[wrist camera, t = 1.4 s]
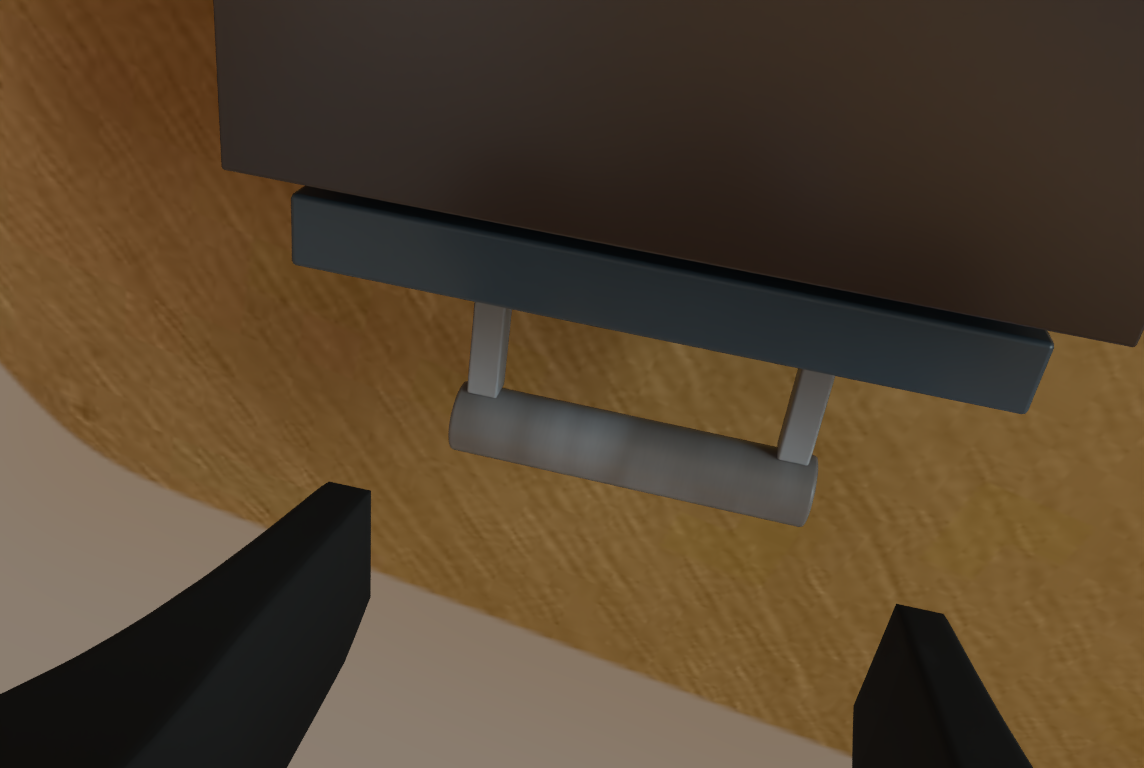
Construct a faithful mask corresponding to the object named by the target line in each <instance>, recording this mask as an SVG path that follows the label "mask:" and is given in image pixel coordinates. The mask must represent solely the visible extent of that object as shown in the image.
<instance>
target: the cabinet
mask: <svg viewBox="0 0 1144 768" xmlns="http://www.w3.org/2000/svg"><path fill="white" fill-rule="evenodd" d="M213 4H214V23H215V43H216V63H217V83H218V103H219V123H220V142H221V162H222V168H223V169H224V170H229V171H234V172H239V173H244V174H249V175H254V176H259V177H264V178H270V179H275V180H280V181H285V182H290V183H295V184H300V185H305V186H310V187H316V188H321V189H326V190H331V191H336V192H341V193H346V194H351V195H357V196H362V197H367V198H372V199H377V200H382V201H387V202H392V203H397V204H403V205H408V206H413V207H418V208H423V209H428V210H433V211H438V212H444V213H449V214H454V215H459V216H464V217H469V218H474V219H479V220H485V221H490V222H495V223H500V224H505V225H510V226H515V227H520V228H525V229H531V230H536V231H541V232H546V233H551V234H556V235H561V236H566V237H572V238H577V239H582V240H587V241H592V242H597V243H602V244H607V245H612V246H618V247H623V248H628V249H633V250H638V251H643V252H648V253H653V254H659V255H664V256H669V257H674V258H679V259H684V260H689V261H694V262H699V263H705V264H710V265H715V266H720V267H725V268H730V269H735V270H740V271H746V272H751V273H756V274H761V275H766V276H771V277H776V278H781V279H786V280H792V281H797V282H802V283H807V284H812V285H817V286H822V287H827V288H833V289H838V290H843V291H848V292H853V293H858V294H863V295H868V296H874V297H879V298H884V299H889V300H894V301H899V302H904V303H909V304H914V305H920V306H925V307H930V308H935V309H940V310H945V311H950V312H955V313H961V314H966V315H971V316H976V317H981V318H986V319H991V320H996V321H1001V322H1007V323H1012V324H1017V325H1022V326H1027V327H1032V328H1037V329H1042V330H1048V331H1053V332H1058V333H1063V334H1068V335H1073V336H1078V337H1083V338H1088V339H1094V340H1099V341H1104V342H1109V343H1114V344H1119V345H1124V346H1129V347H1135V346H1136V345H1137V343H1138V341H1139V339H1140V337H1141V334H1142V332H1143V330H1144V0H213Z"/></svg>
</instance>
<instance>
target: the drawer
mask: <svg viewBox="0 0 1144 768" xmlns="http://www.w3.org/2000/svg"><path fill="white" fill-rule="evenodd" d="M291 223H292V262H293V263H294V264H295V265H299V266H304V267H309V268H314V269H318V270H323V271H328V272H333V273H338V274H343V275H348V276H352V277H357V278H362V279H367V280H372V281H377V282H382V283H386V284H391V285H396V286H401V287H406V288H411V289H416V290H421V291H425V292H430V293H435V294H440V295H445V296H450V297H455V298H459V299H464V300H469V301H474V302H475V304H474V316H473V328H472V339H471V351H470V363H469V375H468V381H466V382H464V383H463V384H462V386H461V388H460V389H459V391H458V394H457V396H456V399H455V402H454V405H453V409H452V413H451V417H450V423H449V444H450V447H451V448H452V449H454V450H458V451H463V452H467V453H472V454H476V455H481V456H485V457H490V458H494V459H499V460H503V461H507V462H512V463H516V464H521V465H525V466H530V467H534V468H539V469H543V470H548V471H552V472H556V473H561V474H565V475H570V476H574V477H579V478H583V479H588V480H592V481H597V482H601V483H605V484H610V485H614V486H619V487H623V488H628V489H632V490H637V491H641V492H646V493H650V494H654V495H659V496H663V497H668V498H672V499H677V500H681V501H686V502H690V503H695V504H699V505H703V506H708V507H712V508H717V509H721V510H726V511H730V512H735V513H739V514H744V515H748V516H752V517H757V518H761V519H766V520H770V521H775V522H779V523H784V524H788V525H793V526H797V527H802V526H803V525H804V524H805V522H806V520H807V518H808V516H809V513H810V510H811V506H812V502H813V498H814V494H815V489H816V483H817V475H818V460H817V457H816V456H814V455H812V453H813V449H814V446H815V442H816V439H817V436H818V432H819V429H820V426H821V422H822V419H823V415H824V412H825V409H826V405H827V402H828V399H829V395H830V392H831V388H832V385H833V382H834V378H835V376H839V377H844V378H848V379H853V380H858V381H863V382H868V383H873V384H878V385H882V386H887V387H892V388H897V389H902V390H907V391H912V392H917V393H921V394H926V395H931V396H936V397H941V398H946V399H951V400H955V401H960V402H965V403H970V404H975V405H980V406H985V407H989V408H994V409H999V410H1004V411H1009V412H1014V413H1019V414H1025V413H1026V412H1027V411H1028V409H1029V407H1030V404H1031V402H1032V400H1033V397H1034V395H1035V392H1036V390H1037V388H1038V385H1039V383H1040V380H1041V378H1042V376H1043V373H1044V371H1045V368H1046V366H1047V363H1048V361H1049V359H1050V356H1051V354H1052V351H1053V349H1054V343H1053V341H1052V339H1051V337H1050V335H1049V333H1048V331H1047V330H1042V329H1037V328H1032V327H1027V326H1022V325H1017V324H1012V323H1007V322H1001V321H996V320H991V319H986V318H981V317H976V316H971V315H966V314H961V313H955V312H950V311H945V310H940V309H935V308H930V307H925V306H920V305H914V304H909V303H904V302H899V301H894V300H889V299H884V298H879V297H874V296H868V295H863V294H858V293H853V292H848V291H843V290H838V289H833V288H827V287H822V286H817V285H812V284H807V283H802V282H797V281H792V280H786V279H781V278H776V277H771V276H766V275H761V274H756V273H751V272H746V271H740V270H735V269H730V268H725V267H720V266H715V265H710V264H705V263H699V262H694V261H689V260H684V259H679V258H674V257H669V256H664V255H659V254H653V253H648V252H643V251H638V250H633V249H628V248H623V247H618V246H612V245H607V244H602V243H597V242H592V241H587V240H582V239H577V238H572V237H566V236H561V235H556V234H551V233H546V232H541V231H536V230H531V229H525V228H520V227H515V226H510V225H505V224H500V223H495V222H490V221H485V220H479V219H474V218H469V217H464V216H459V215H454V214H449V213H444V212H438V211H433V210H428V209H423V208H418V207H413V206H408V205H403V204H397V203H392V202H387V201H382V200H377V199H372V198H367V197H362V196H357V195H351V194H346V193H341V192H336V191H331V190H326V189H321V188H316V187H310V186H304V187H302V188H301V189H299V190H298V191H296V192H295V193H293V195H292V197H291ZM512 309H513V310H518V311H523V312H527V313H532V314H537V315H542V316H547V317H552V318H557V319H562V320H566V321H571V322H576V323H581V324H586V325H591V326H596V327H600V328H605V329H610V330H615V331H620V332H625V333H630V334H634V335H639V336H644V337H649V338H654V339H659V340H664V341H669V342H673V343H678V344H683V345H688V346H693V347H698V348H703V349H707V350H712V351H717V352H722V353H727V354H732V355H737V356H741V357H746V358H751V359H756V360H761V361H766V362H771V363H775V364H780V365H785V366H790V367H795V368H798V370H797V374H796V378H795V381H794V385H793V389H792V392H791V396H790V400H789V403H788V407H787V411H786V414H785V418H784V422H783V425H782V429H781V432H780V436H779V440H778V446H777V447H775V446H770V445H765V444H761V443H756V442H751V441H747V440H742V439H737V438H733V437H728V436H724V435H719V434H714V433H710V432H705V431H700V430H696V429H691V428H686V427H682V426H677V425H672V424H668V423H663V422H659V421H654V420H649V419H645V418H640V417H635V416H631V415H626V414H621V413H617V412H612V411H608V410H603V409H598V408H594V407H589V406H584V405H580V404H575V403H570V402H566V401H561V400H556V399H552V398H547V397H543V396H538V395H533V394H529V393H524V392H519V391H515V390H510V389H505V388H502V387H503V385H504V379H505V369H506V360H507V351H508V341H509V332H510V322H511V313H512Z"/></svg>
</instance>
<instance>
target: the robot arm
mask: <svg viewBox="0 0 1144 768" xmlns="http://www.w3.org/2000/svg"><path fill="white" fill-rule="evenodd" d="M370 573H371V491H370V490H365V489H361V488H356V487H351V486H347V485H342V484H338V483H333V482H328V483H326V484H324V485H323V486H321V487H320V488H319V489H317V490H316V491H315V492H314V493H312V494H311V495H310V496H309V497H307V498H306V499H305V500H304V501H302V502H301V503H300V504H299V505H297V506H296V507H295V508H294V509H292V510H291V511H290V512H289V513H287V514H286V515H285V516H284V517H282V518H281V519H280V520H279V521H277V522H276V523H275V524H274V525H272V526H271V527H270V528H268V529H267V530H266V531H265V532H263V533H262V534H261V535H260V536H258V537H257V538H256V539H254V540H253V541H252V542H250V543H249V544H248V545H246V546H245V547H244V548H242V549H241V550H240V551H238V552H237V553H236V554H234V555H233V556H232V557H230V558H229V559H228V560H226V561H225V562H224V563H222V564H221V565H220V566H218V567H217V568H216V569H214V570H213V571H211V572H210V573H209V574H207V575H206V576H204V577H203V578H202V579H200V580H199V581H197V582H196V583H194V584H193V585H191V586H190V587H188V588H187V589H185V590H184V591H182V592H181V593H179V594H178V595H176V596H175V597H174V598H172V599H171V600H169V601H168V602H166V603H165V604H163V605H162V606H160V607H159V608H157V609H156V610H154V611H153V612H151V613H149V614H148V615H146V616H145V617H143V618H142V619H140V620H138V621H137V622H135V623H134V624H132V625H130V626H129V627H127V628H125V629H124V630H122V631H120V632H119V633H117V634H115V635H114V636H112V637H110V638H108V639H107V640H105V641H103V642H101V643H100V644H98V645H96V646H95V647H92V648H91V649H89V650H88V651H86V652H84V653H82V654H80V655H79V656H76V657H75V658H73V659H71V660H69V661H67V662H65V663H63V664H61V665H59V666H57V667H55V668H53V669H51V670H49V671H47V672H45V673H43V674H41V675H39V676H37V677H35V678H33V679H31V680H29V681H27V682H24V683H22V684H20V685H18V686H16V687H14V688H12V689H10V690H8V691H6V692H4V693H2V694H0V768H287V766H288V764H289V763H290V761H291V759H292V757H293V755H294V754H295V752H296V750H297V748H298V746H299V745H300V743H301V741H302V739H303V737H304V736H305V733H306V732H307V730H308V728H309V726H310V725H311V723H312V721H313V719H314V717H315V716H316V714H317V712H318V710H319V708H320V706H321V704H322V703H323V701H324V699H325V697H326V695H327V694H328V692H329V690H330V688H331V686H332V684H333V683H334V681H335V679H336V677H337V675H338V673H339V671H340V669H341V667H342V666H343V664H344V662H345V660H346V657H347V655H348V652H349V650H350V647H351V645H352V642H353V640H354V638H355V635H356V632H357V630H358V628H359V625H360V622H361V620H362V617H363V615H364V612H365V609H366V607H367V604H368V602H369V599H370V577H371V575H370ZM852 768H1033V767H1032V765H1031V764H1030V762H1029V760H1028V759H1027V757H1026V756H1025V754H1024V752H1023V751H1022V749H1021V747H1020V746H1019V744H1018V743H1017V741H1016V739H1015V738H1014V736H1013V734H1012V733H1011V731H1010V730H1009V728H1008V726H1007V725H1006V723H1005V721H1004V720H1003V718H1002V716H1001V714H1000V713H999V711H998V709H997V708H996V706H995V704H994V702H993V701H992V699H991V697H990V695H989V694H988V692H987V690H986V688H985V687H984V685H983V683H982V681H981V680H980V678H979V676H978V674H977V672H976V671H975V669H974V667H973V665H972V663H971V662H970V660H969V658H968V656H967V654H966V653H965V651H964V649H963V647H962V645H961V643H960V642H959V640H958V638H957V636H956V634H955V633H954V631H953V629H952V627H951V625H950V624H949V622H948V620H947V619H946V617H945V616H944V614H941V613H936V612H932V611H927V610H922V609H918V608H913V607H909V606H904V605H899V604H896V606H895V608H894V611H893V613H892V615H891V618H890V620H889V623H888V625H887V627H886V630H885V632H884V635H883V637H882V639H881V642H880V644H879V647H878V649H877V651H876V654H875V656H874V658H873V661H872V663H871V666H870V668H869V670H868V673H867V675H866V678H865V680H864V682H863V685H862V687H861V690H860V692H859V694H858V697H857V699H856V702H855V704H854V712H853V752H852Z"/></svg>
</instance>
